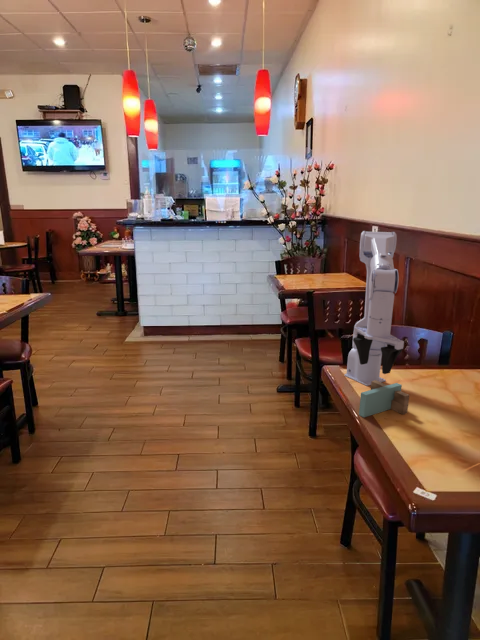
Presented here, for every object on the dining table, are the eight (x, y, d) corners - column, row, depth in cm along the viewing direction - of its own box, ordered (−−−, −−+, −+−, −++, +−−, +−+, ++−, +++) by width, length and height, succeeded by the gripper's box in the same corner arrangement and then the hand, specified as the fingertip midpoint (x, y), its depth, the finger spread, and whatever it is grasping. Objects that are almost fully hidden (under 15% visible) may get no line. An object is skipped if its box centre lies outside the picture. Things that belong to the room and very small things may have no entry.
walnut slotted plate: (369, 398, 123) (371, 381, 122) (373, 397, 124) (375, 380, 123) (402, 414, 114) (405, 396, 113) (407, 413, 115) (409, 394, 114)
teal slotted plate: (358, 414, 114) (360, 392, 112) (394, 404, 120) (396, 382, 119) (363, 417, 112) (365, 395, 111) (399, 406, 119) (401, 384, 117)
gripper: (347, 312, 118) (343, 362, 122) (391, 326, 106) (385, 380, 110) (366, 309, 122) (362, 358, 125) (411, 322, 110) (405, 375, 113)
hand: (374, 368), depth 118 cm, fingers open, 7 cm apart
